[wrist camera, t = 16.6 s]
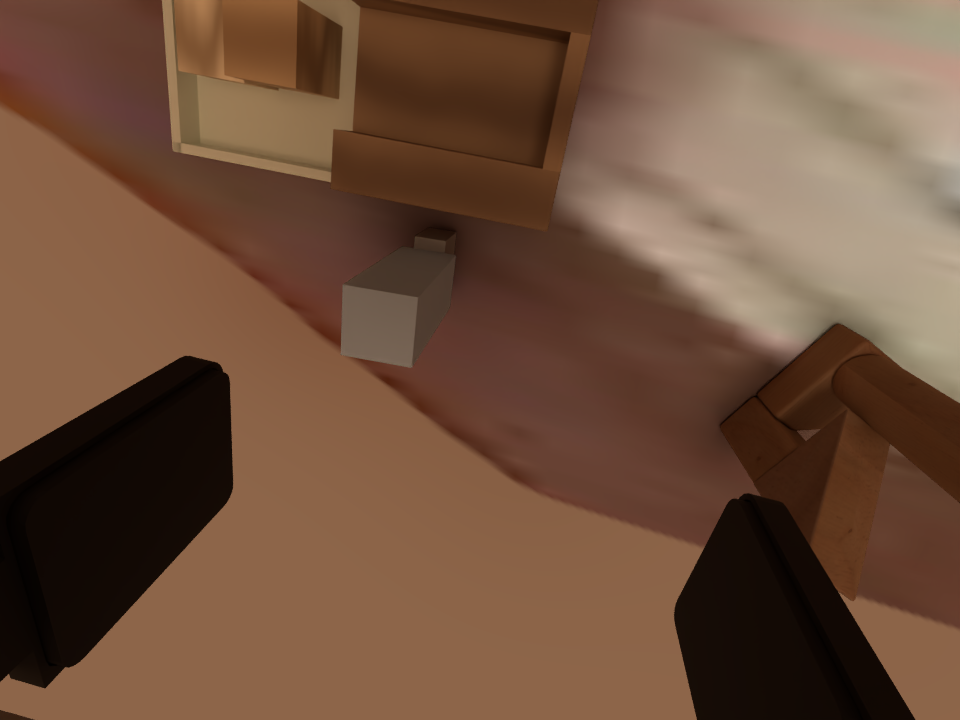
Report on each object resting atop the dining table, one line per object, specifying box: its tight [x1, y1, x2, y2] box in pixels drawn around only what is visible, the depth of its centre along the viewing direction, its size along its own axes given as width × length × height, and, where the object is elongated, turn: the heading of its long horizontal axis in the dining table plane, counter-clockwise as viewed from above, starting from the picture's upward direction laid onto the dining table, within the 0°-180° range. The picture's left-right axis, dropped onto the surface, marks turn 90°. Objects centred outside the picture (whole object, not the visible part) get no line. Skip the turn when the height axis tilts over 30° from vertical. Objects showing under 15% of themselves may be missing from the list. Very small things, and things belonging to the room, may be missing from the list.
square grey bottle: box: [341, 228, 457, 368], centre depth 30 cm, size 5×4×14 cm
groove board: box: [330, 0, 599, 231], centre depth 29 cm, size 13×13×6 cm
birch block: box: [174, 0, 279, 91], centre depth 30 cm, size 4×4×4 cm
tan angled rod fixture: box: [720, 324, 960, 601], centre depth 28 cm, size 4×11×18 cm, turn 144°
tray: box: [162, 0, 360, 182], centre depth 31 cm, size 13×12×2 cm
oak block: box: [222, 0, 343, 99], centre depth 29 cm, size 4×4×6 cm
